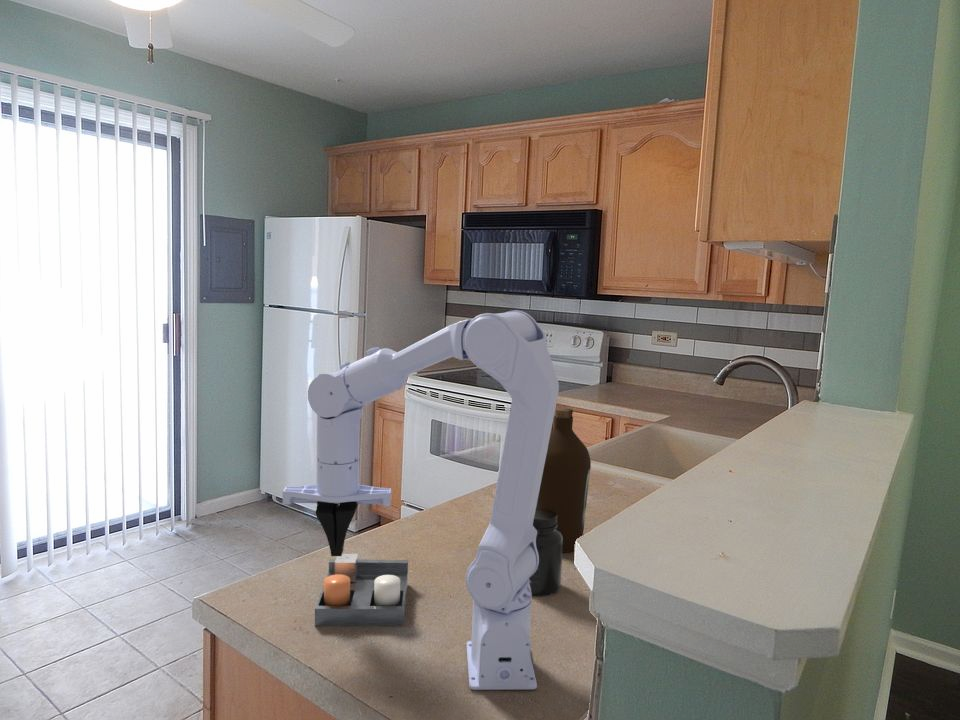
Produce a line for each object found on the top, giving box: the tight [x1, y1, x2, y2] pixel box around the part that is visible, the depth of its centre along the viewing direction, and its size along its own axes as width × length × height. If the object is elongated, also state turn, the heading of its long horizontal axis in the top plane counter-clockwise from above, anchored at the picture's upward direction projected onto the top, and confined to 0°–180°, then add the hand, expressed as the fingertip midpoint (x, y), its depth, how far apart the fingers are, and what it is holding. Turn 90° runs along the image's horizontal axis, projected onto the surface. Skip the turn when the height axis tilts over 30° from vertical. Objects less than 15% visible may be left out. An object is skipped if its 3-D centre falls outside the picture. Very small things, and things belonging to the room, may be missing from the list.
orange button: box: [323, 574, 350, 606], centre depth 91 cm, size 4×4×3 cm
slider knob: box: [335, 553, 359, 582], centre depth 97 cm, size 3×3×3 cm
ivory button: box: [374, 575, 400, 606], centre depth 91 cm, size 4×4×3 cm
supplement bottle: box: [529, 509, 563, 597], centre depth 101 cm, size 7×7×12 cm
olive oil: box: [536, 406, 592, 553], centre depth 117 cm, size 11×11×25 cm
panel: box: [314, 558, 409, 627], centre depth 94 cm, size 12×12×4 cm
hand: (337, 553), depth 90 cm, fingers closed
